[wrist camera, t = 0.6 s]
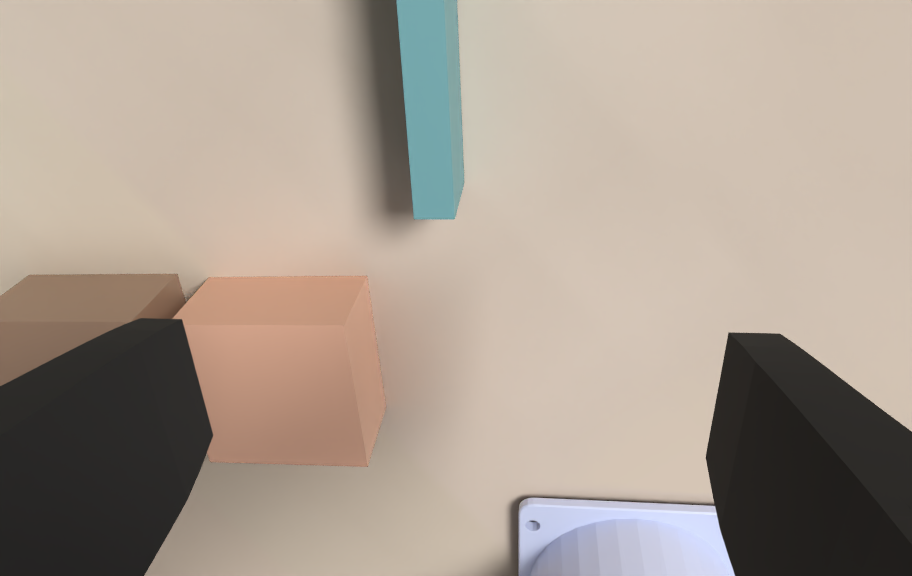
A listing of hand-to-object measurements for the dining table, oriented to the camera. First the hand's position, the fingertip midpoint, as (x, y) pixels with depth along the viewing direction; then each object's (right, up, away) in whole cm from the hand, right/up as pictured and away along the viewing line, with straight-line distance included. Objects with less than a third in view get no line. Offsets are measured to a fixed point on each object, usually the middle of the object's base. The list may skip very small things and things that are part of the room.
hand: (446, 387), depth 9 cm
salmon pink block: (-5, 0, +13) cm, 14 cm away
